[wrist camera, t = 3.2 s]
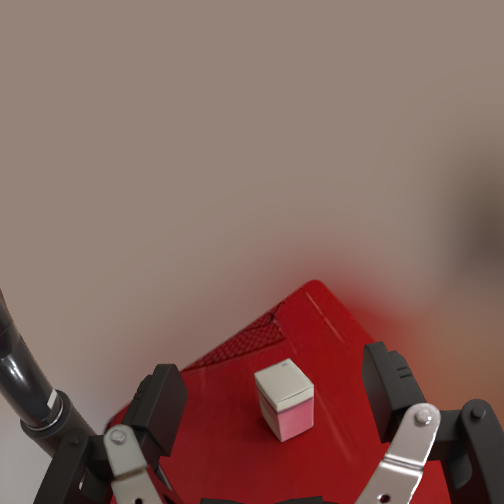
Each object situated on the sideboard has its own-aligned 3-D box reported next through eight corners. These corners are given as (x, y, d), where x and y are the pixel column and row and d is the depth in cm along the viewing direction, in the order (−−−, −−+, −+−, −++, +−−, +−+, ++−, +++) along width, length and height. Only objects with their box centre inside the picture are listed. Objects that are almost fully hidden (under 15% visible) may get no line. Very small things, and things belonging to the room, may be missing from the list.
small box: (261, 415, 30) (251, 372, 27) (292, 400, 31) (288, 356, 29) (281, 444, 26) (274, 404, 23) (314, 427, 27) (315, 384, 24)
